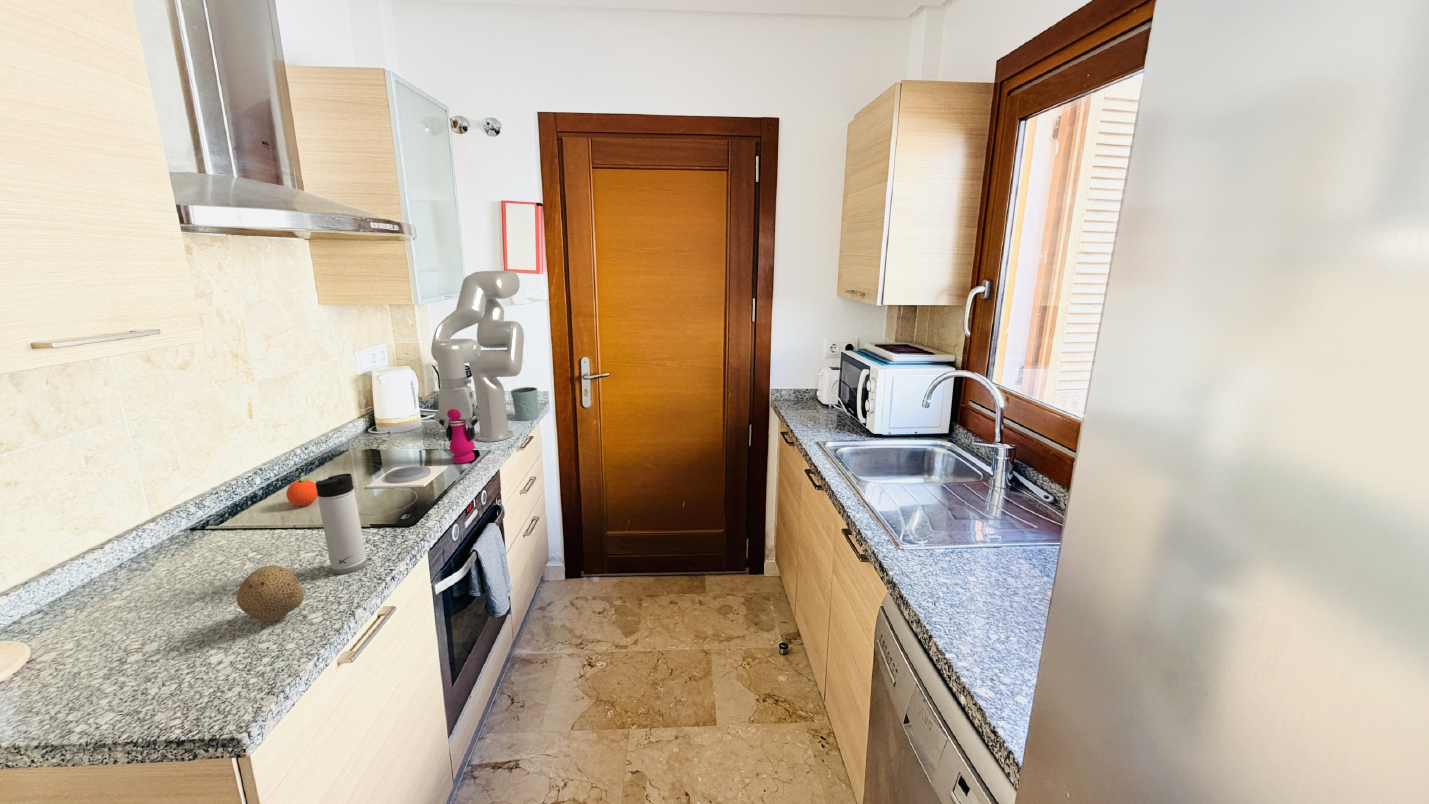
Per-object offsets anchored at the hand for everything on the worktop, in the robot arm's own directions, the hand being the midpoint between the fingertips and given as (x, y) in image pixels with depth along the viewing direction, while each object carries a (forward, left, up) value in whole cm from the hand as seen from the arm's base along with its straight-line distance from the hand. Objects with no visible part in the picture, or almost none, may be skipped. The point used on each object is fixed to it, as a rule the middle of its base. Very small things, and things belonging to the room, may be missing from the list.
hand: (461, 438), depth 184 cm
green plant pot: (-52, +5, -8) cm, 53 cm away
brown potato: (+85, -1, -8) cm, 85 cm away
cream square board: (+14, -11, -7) cm, 19 cm away
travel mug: (+67, +2, -8) cm, 67 cm away
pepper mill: (0, 0, -7) cm, 7 cm away
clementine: (+32, -29, -8) cm, 44 cm away
